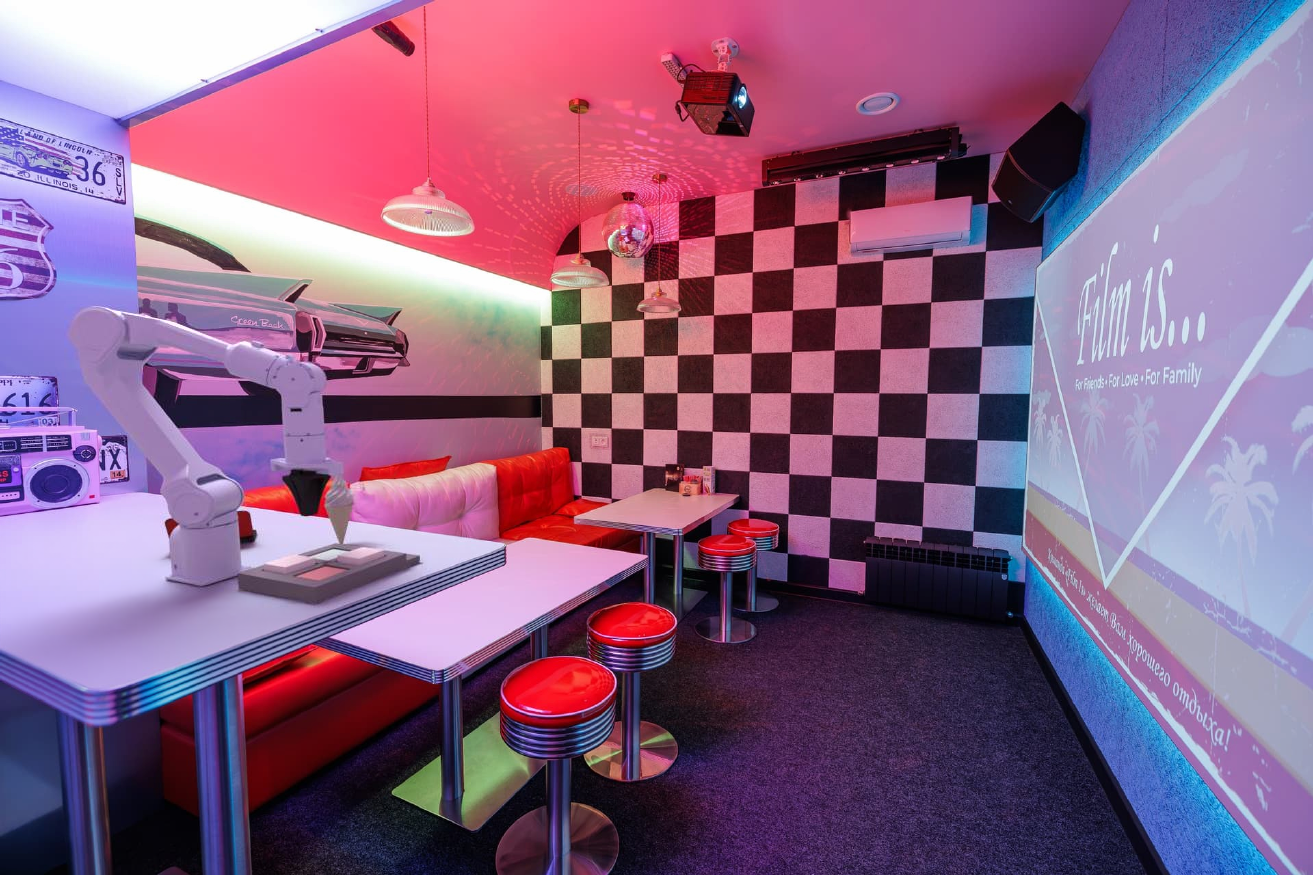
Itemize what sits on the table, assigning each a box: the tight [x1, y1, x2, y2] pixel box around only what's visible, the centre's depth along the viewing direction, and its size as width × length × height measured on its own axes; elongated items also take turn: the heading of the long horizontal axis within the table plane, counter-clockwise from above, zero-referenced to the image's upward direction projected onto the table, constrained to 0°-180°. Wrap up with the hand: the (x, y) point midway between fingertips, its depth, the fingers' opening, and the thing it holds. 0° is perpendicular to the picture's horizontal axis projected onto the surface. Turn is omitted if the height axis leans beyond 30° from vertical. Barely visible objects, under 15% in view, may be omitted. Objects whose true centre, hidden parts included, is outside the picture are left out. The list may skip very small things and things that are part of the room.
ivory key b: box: [337, 546, 385, 566], centre depth 89 cm, size 5×5×1 cm
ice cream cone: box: [323, 474, 355, 544], centre depth 104 cm, size 5×5×15 cm
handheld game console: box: [164, 510, 258, 544], centre depth 105 cm, size 12×11×7 cm
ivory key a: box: [263, 554, 315, 575], centre depth 85 cm, size 5×5×1 cm
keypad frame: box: [237, 542, 421, 605], centre depth 88 cm, size 17×20×2 cm
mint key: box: [310, 549, 349, 561], centre depth 91 cm, size 5×5×1 cm
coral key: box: [296, 566, 346, 581], centre depth 82 cm, size 5×5×1 cm
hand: (309, 514), depth 90 cm, fingers closed
